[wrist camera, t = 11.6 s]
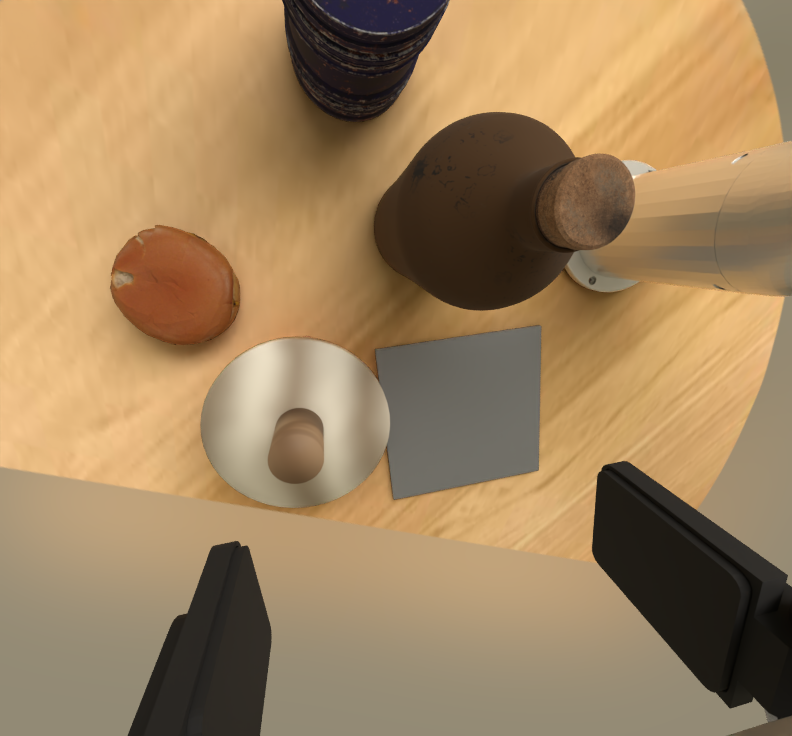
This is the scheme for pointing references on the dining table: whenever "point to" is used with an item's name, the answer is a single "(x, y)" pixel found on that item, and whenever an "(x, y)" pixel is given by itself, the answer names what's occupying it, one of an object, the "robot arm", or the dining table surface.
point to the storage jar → (357, 50)
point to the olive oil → (499, 210)
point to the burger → (175, 286)
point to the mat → (462, 409)
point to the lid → (295, 422)
